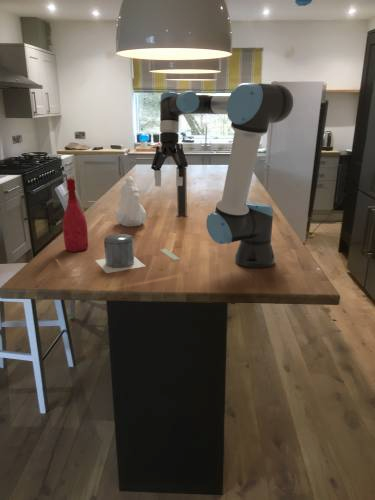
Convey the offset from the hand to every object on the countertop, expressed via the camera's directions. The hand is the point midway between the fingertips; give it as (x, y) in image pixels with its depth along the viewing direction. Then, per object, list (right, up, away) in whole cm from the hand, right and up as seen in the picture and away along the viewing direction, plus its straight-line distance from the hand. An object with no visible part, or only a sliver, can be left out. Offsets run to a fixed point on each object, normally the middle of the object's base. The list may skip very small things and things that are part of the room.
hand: (168, 186), depth 166 cm
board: (-18, -32, -12) cm, 39 cm away
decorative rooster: (-21, -14, +42) cm, 49 cm away
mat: (-5, -29, -4) cm, 30 cm away
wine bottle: (-40, -26, +7) cm, 48 cm away
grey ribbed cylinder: (-18, -31, -12) cm, 38 cm away
